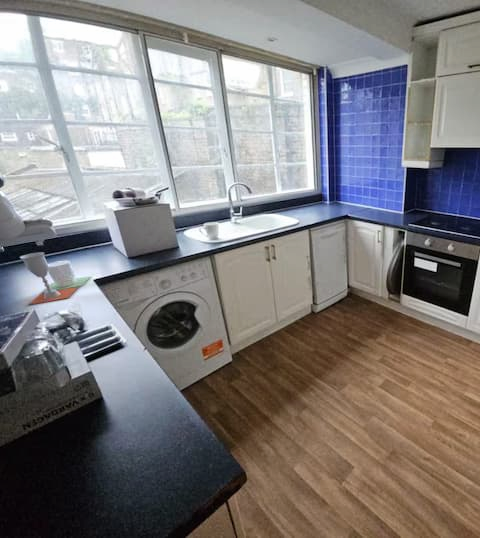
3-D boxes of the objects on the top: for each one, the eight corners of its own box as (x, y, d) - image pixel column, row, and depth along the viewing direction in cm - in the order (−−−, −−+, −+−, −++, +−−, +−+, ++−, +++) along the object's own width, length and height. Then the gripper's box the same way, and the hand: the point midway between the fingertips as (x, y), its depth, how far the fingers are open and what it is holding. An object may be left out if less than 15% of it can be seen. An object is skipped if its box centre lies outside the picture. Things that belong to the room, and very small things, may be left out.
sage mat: (42, 292, 126) (42, 292, 126) (54, 282, 135) (54, 282, 135) (80, 286, 131) (80, 285, 131) (89, 277, 140) (89, 276, 140)
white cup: (81, 282, 134) (72, 262, 130) (58, 289, 128) (48, 268, 124) (75, 278, 138) (66, 259, 134) (52, 285, 132) (42, 264, 128)
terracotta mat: (29, 305, 116) (28, 304, 116) (43, 293, 125) (42, 292, 125) (68, 298, 120) (67, 297, 120) (78, 287, 130) (78, 286, 130)
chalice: (39, 296, 122) (18, 255, 115) (61, 290, 127) (42, 251, 120) (42, 301, 118) (20, 259, 111) (65, 294, 123) (45, 254, 116)
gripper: (46, 210, 99) (59, 233, 109) (-51, 221, 86) (-26, 246, 96) (52, 225, 97) (64, 247, 108) (-46, 239, 84) (-22, 262, 95)
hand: (21, 247), depth 102 cm, fingers open, 8 cm apart
